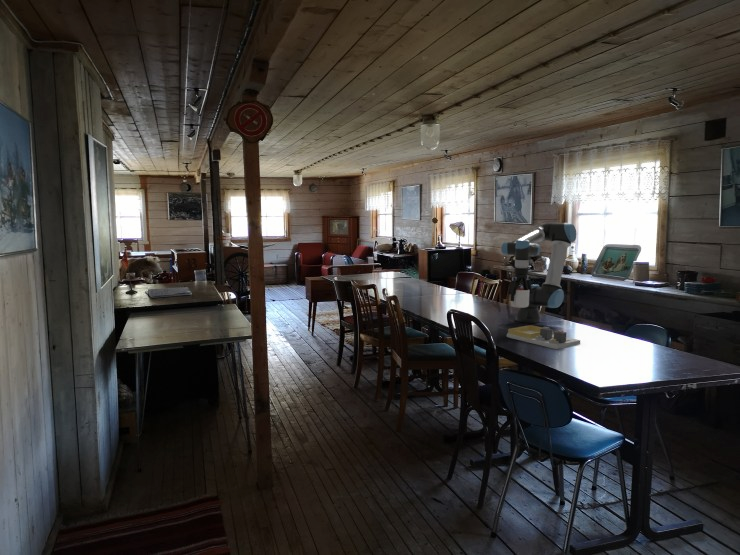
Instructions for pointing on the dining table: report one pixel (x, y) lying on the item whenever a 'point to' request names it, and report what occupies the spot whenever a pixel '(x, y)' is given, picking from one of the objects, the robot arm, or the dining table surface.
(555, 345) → the panel
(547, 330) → the breaker
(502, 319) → the dining table surface
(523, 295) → the cup
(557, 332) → the breaker
